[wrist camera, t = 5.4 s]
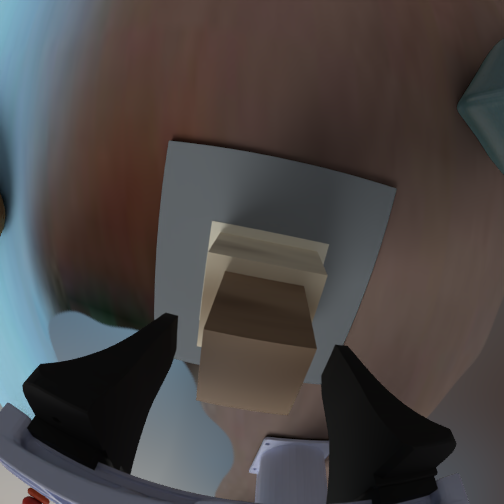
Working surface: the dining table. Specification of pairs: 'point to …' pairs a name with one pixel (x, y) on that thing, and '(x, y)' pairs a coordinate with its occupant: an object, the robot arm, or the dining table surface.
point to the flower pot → (487, 105)
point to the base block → (261, 268)
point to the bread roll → (2, 215)
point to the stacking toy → (35, 498)
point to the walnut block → (256, 345)
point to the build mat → (265, 232)
